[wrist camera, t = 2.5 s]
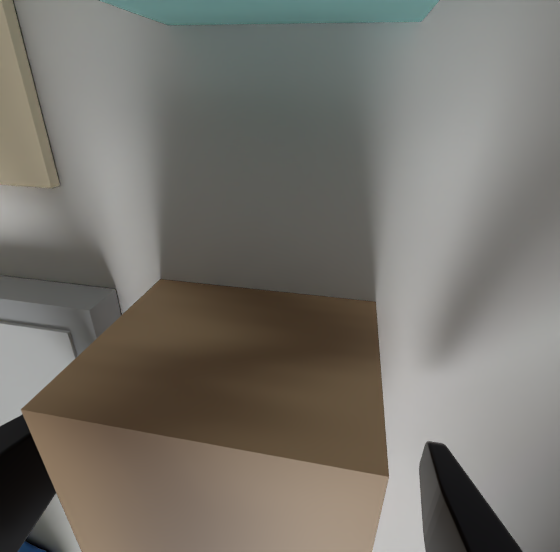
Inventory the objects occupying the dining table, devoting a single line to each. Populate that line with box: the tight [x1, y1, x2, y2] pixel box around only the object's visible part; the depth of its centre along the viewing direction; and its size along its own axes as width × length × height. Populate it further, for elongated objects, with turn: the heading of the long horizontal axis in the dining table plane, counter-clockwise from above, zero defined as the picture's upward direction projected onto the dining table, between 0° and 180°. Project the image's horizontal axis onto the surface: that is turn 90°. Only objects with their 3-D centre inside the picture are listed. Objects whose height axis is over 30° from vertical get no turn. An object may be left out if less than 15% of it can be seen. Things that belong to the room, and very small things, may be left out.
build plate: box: [0, 276, 121, 426], centre depth 13 cm, size 8×8×1 cm
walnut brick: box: [21, 279, 389, 552], centre depth 9 cm, size 6×6×5 cm
